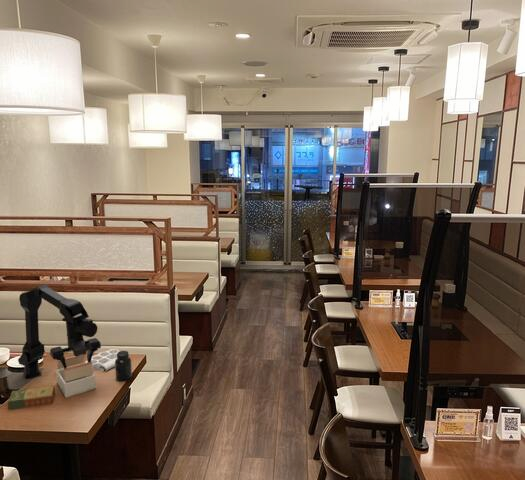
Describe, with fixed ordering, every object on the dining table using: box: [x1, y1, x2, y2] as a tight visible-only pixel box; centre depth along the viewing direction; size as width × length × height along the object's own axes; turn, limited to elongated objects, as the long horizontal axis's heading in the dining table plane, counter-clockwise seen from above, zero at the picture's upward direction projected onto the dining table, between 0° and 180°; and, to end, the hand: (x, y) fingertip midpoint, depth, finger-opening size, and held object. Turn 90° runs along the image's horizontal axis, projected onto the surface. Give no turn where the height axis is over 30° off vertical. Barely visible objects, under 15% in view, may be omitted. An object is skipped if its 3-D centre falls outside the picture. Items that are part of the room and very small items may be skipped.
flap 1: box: [56, 354, 86, 370], centre depth 203 cm, size 5×11×1 cm
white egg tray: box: [84, 348, 120, 372], centre depth 222 cm, size 3×18×15 cm
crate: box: [55, 363, 96, 398], centre depth 200 cm, size 14×12×6 cm
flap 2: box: [63, 362, 94, 382], centre depth 194 cm, size 5×11×1 cm
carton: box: [7, 385, 56, 411], centre depth 189 cm, size 8×16×4 cm, turn 107°
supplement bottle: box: [114, 350, 133, 382], centre depth 207 cm, size 7×7×12 cm
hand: (77, 367), depth 195 cm, fingers open, 9 cm apart
